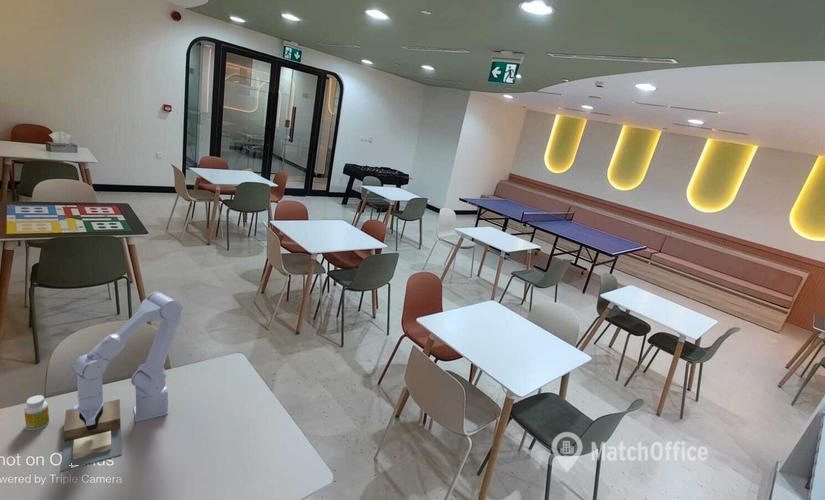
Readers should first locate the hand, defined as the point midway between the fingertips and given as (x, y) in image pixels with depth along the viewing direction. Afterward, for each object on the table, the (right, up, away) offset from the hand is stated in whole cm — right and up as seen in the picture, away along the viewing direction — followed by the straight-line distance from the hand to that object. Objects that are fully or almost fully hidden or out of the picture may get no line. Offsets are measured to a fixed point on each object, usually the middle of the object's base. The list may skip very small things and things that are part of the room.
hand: (92, 428), depth 122 cm
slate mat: (+1, -6, -1) cm, 6 cm away
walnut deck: (-5, -2, +7) cm, 9 cm away
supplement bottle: (-20, 0, +3) cm, 20 cm away
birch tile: (+1, -4, -2) cm, 4 cm away
